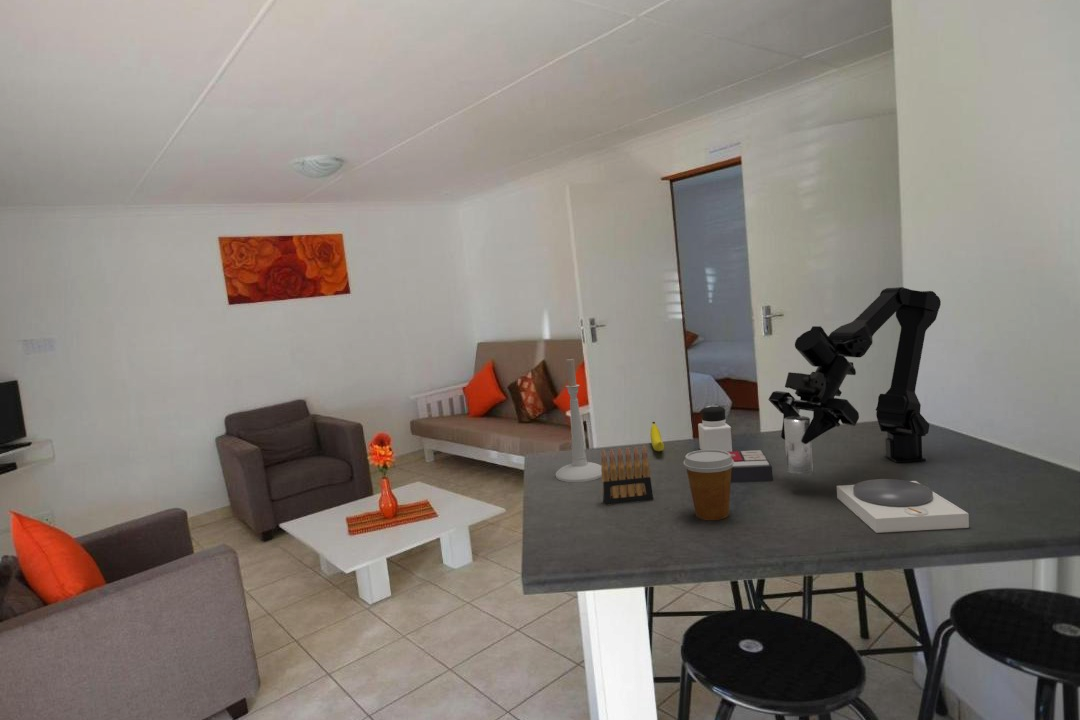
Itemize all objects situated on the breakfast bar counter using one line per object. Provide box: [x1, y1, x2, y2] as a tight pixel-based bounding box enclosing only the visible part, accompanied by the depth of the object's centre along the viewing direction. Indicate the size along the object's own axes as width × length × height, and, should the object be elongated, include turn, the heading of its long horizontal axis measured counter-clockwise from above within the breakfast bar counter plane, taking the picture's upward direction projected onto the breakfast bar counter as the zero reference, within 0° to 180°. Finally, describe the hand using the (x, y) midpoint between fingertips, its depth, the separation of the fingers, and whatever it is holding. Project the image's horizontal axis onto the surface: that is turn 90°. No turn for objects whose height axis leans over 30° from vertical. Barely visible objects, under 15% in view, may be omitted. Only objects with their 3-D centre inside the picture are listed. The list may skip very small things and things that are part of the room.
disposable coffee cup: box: [683, 449, 734, 521], centre depth 122 cm, size 10×10×12 cm
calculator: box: [728, 449, 774, 483], centre depth 148 cm, size 11×4×15 cm
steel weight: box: [784, 415, 814, 475], centre depth 130 cm, size 5×5×11 cm
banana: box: [650, 421, 665, 452], centre depth 173 cm, size 3×19×6 cm, turn 175°
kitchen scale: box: [836, 478, 970, 534], centre depth 115 cm, size 15×18×4 cm
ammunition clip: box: [600, 444, 654, 506], centre depth 135 cm, size 11×2×12 cm, turn 91°
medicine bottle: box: [697, 405, 733, 452], centre depth 167 cm, size 7×7×12 cm
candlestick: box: [555, 358, 602, 483], centre depth 157 cm, size 13×13×30 cm
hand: (793, 440), depth 129 cm, fingers closed on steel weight, 5 cm apart
